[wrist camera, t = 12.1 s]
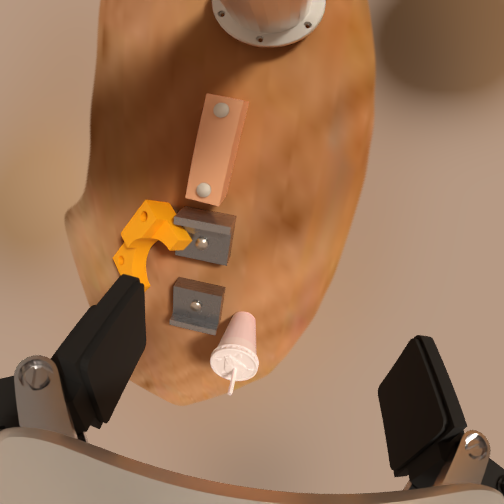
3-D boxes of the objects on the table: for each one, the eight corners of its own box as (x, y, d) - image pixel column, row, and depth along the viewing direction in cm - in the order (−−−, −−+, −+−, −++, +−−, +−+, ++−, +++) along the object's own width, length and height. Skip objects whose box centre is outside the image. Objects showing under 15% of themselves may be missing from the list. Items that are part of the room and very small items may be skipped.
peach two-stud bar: (217, 95, 33) (205, 93, 29) (249, 101, 34) (243, 100, 29) (197, 186, 39) (184, 198, 34) (227, 194, 39) (218, 207, 34)
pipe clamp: (145, 199, 36) (168, 240, 35) (169, 202, 40) (192, 240, 38) (103, 258, 41) (120, 296, 39) (125, 257, 45) (143, 293, 43)
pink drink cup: (233, 340, 49) (216, 408, 37) (216, 309, 47) (192, 377, 34) (270, 331, 47) (262, 402, 35) (254, 299, 45) (241, 370, 33)
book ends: (184, 206, 40) (174, 216, 36) (236, 215, 40) (230, 227, 36) (177, 308, 48) (169, 324, 44) (220, 318, 47) (215, 335, 44)
